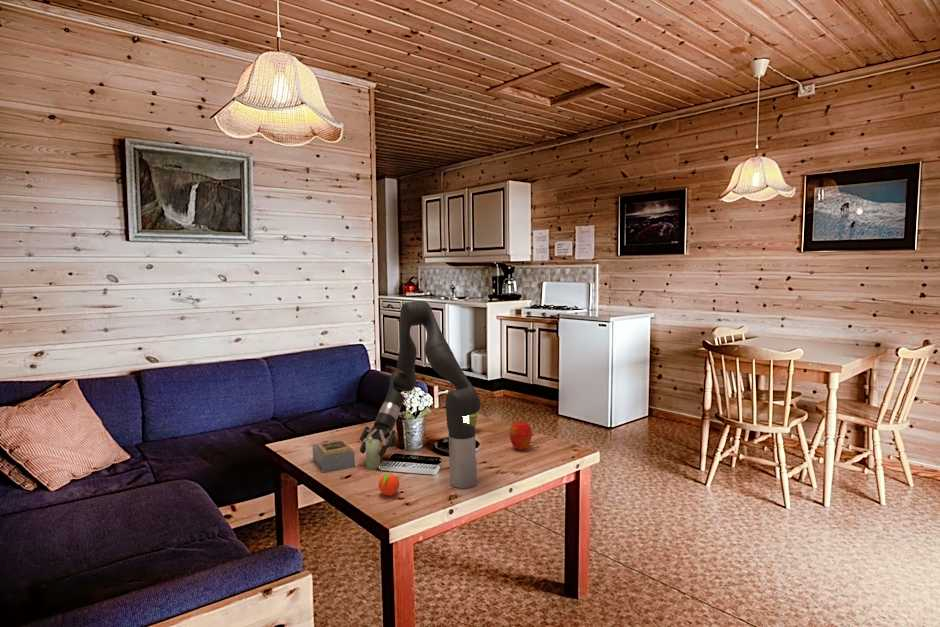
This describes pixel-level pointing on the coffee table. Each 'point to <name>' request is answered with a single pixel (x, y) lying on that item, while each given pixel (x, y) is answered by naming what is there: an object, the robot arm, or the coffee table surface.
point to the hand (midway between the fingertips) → (371, 454)
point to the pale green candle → (372, 453)
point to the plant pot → (473, 419)
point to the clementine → (389, 484)
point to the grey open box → (333, 455)
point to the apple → (520, 435)
